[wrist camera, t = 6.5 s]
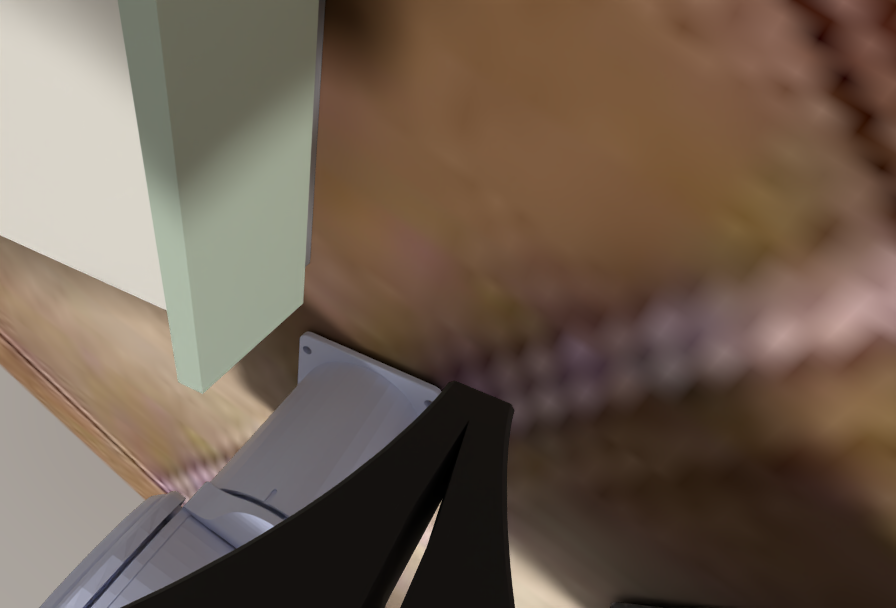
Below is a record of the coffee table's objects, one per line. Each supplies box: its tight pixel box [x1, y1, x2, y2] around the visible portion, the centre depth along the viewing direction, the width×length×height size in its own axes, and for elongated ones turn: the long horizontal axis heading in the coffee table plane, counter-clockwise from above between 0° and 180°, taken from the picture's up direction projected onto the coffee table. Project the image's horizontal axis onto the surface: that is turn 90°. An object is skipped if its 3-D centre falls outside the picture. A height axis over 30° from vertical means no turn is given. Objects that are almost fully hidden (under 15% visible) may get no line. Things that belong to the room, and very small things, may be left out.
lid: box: [0, 0, 319, 394], centre depth 17 cm, size 14×20×6 cm
